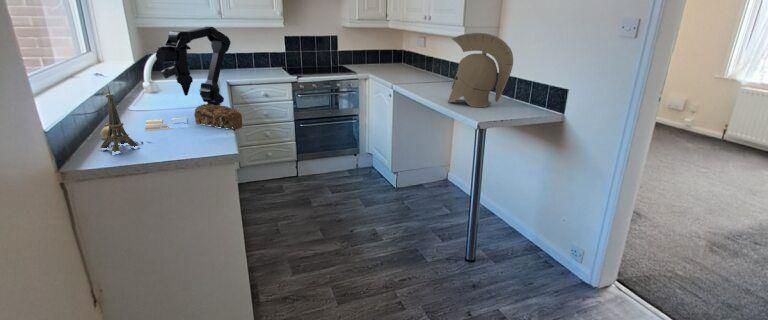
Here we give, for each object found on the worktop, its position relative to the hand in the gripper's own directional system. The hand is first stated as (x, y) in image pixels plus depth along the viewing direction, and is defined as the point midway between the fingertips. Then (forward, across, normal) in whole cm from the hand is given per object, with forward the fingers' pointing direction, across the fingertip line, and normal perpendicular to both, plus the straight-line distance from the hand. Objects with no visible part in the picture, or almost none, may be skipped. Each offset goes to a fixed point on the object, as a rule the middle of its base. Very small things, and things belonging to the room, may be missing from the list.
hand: (186, 95), depth 198 cm
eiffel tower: (+12, +34, -27) cm, 44 cm away
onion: (+12, +20, -29) cm, 38 cm away
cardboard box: (+12, +12, -10) cm, 20 cm away
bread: (+13, +16, +11) cm, 23 cm away
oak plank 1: (+12, +3, -15) cm, 19 cm away
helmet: (+14, +20, +153) cm, 155 cm away
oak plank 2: (+12, +3, -4) cm, 13 cm away
